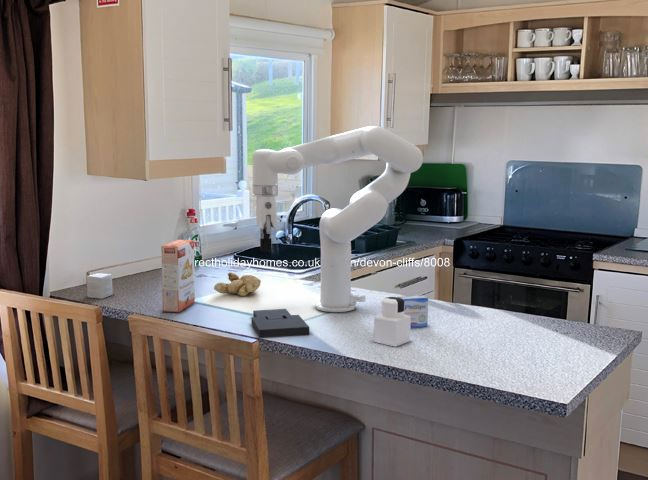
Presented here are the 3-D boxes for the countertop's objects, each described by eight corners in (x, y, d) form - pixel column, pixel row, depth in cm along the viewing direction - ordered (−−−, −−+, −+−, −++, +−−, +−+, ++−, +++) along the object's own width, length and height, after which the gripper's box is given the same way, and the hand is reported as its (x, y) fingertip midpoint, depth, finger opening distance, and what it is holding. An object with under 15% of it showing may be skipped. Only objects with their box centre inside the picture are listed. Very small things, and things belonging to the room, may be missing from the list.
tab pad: (285, 315, 232) (285, 308, 231) (293, 325, 221) (293, 317, 221) (253, 317, 229) (253, 310, 229) (259, 327, 219) (259, 319, 218)
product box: (98, 293, 261) (97, 272, 259) (113, 295, 259) (112, 274, 257) (87, 297, 255) (85, 276, 254) (102, 299, 253) (101, 277, 252)
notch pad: (298, 321, 225) (298, 314, 224) (309, 334, 211) (309, 326, 211) (251, 324, 221) (251, 317, 221) (259, 337, 208) (259, 329, 208)
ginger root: (271, 285, 268) (268, 264, 265) (257, 306, 254) (254, 284, 251) (229, 284, 272) (226, 263, 269) (213, 304, 258) (210, 283, 255)
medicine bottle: (388, 336, 209) (389, 294, 207) (410, 341, 205) (411, 297, 203) (373, 342, 204) (374, 298, 202) (395, 347, 200) (396, 302, 197)
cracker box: (180, 313, 234) (178, 246, 231) (161, 312, 236) (159, 245, 232) (196, 302, 248) (194, 239, 244) (179, 301, 249) (177, 238, 245)
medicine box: (402, 328, 217) (402, 299, 216) (396, 324, 222) (397, 295, 220) (427, 327, 219) (428, 297, 218) (421, 323, 224) (422, 294, 222)
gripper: (282, 193, 224) (282, 254, 228) (273, 188, 239) (273, 246, 242) (257, 193, 223) (257, 255, 226) (249, 189, 237) (250, 247, 240)
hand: (265, 250), depth 234 cm, fingers closed
